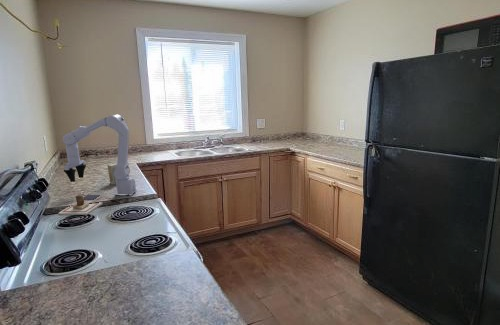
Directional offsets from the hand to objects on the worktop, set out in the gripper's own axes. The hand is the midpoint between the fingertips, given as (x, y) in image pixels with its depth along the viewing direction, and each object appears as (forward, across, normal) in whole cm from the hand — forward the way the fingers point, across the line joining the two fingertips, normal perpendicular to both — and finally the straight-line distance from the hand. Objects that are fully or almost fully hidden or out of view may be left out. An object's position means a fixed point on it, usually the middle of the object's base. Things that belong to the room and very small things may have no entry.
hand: (77, 179), depth 169 cm
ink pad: (+9, +6, +10) cm, 15 cm away
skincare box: (+10, -24, +9) cm, 27 cm away
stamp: (+9, +19, +13) cm, 25 cm away
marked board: (+9, +19, +13) cm, 25 cm away
